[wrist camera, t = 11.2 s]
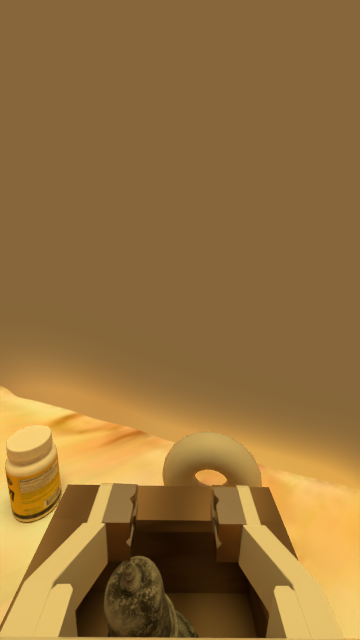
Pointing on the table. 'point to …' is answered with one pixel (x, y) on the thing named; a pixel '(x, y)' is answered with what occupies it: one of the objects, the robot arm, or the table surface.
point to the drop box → (172, 559)
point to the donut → (210, 461)
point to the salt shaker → (142, 604)
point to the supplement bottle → (32, 473)
